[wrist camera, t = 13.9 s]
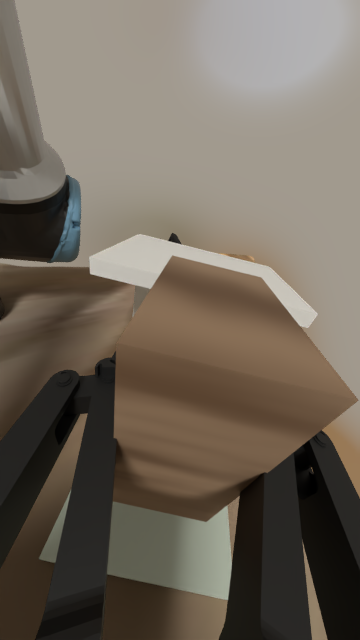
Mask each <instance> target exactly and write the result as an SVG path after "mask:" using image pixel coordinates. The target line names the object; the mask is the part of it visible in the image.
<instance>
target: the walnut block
mask: <svg viewBox="0 0 360 640" xmlns="http://www.w3.org/2000/svg"><path fill="white" fill-rule="evenodd" d="M357 401H358V399H357V398H356V396H355V395H354V394H353V393H352V391H351V390H350V389H349V388H348V386H347V385H346V384H345V383H344V381H343V380H342V379H341V377H340V376H339V375H338V374H337V372H336V371H335V370H334V369H333V367H332V366H331V365H330V364H329V362H328V361H327V360H326V358H325V357H324V356H323V355H322V353H321V352H320V351H319V350H318V348H317V347H316V346H315V345H314V343H313V342H312V341H311V340H310V338H309V337H308V336H307V334H306V333H305V332H304V331H303V329H302V328H301V327H300V326H299V324H298V323H297V322H296V321H295V319H294V318H293V317H292V316H291V314H290V313H289V312H288V310H287V309H286V308H285V307H284V305H283V304H282V303H281V302H280V300H279V299H278V298H277V297H276V295H275V294H274V293H273V292H272V290H271V289H270V288H269V286H268V285H267V284H266V283H265V281H264V280H263V279H262V278H261V277H258V276H254V275H250V274H245V273H241V272H237V271H233V270H229V269H225V268H221V267H217V266H213V265H209V264H205V263H201V262H197V261H193V260H189V259H185V258H181V257H177V256H173V255H172V257H171V258H170V260H169V261H168V263H167V264H166V266H165V267H164V269H163V271H162V272H161V274H160V275H159V277H158V278H157V280H156V282H155V283H154V285H153V286H152V288H151V289H150V291H149V292H148V294H147V296H146V297H145V299H144V300H143V302H142V303H141V305H140V306H139V308H138V310H137V311H136V313H135V314H134V316H133V317H132V319H131V320H130V322H129V324H128V325H127V327H126V328H125V330H124V331H123V333H122V335H121V336H120V338H119V339H118V341H117V342H116V370H115V406H114V438H116V439H117V446H116V465H115V478H114V491H113V502H118V503H122V504H127V505H131V506H136V507H140V508H145V509H149V510H154V511H159V512H163V513H168V514H172V515H177V516H181V517H186V518H190V519H195V520H199V521H204V522H207V521H208V520H210V519H211V518H212V517H213V516H215V515H216V514H217V513H218V512H220V511H221V510H222V509H223V508H225V507H226V506H227V505H228V504H230V503H231V502H232V501H233V500H235V499H236V498H237V497H238V496H240V492H241V491H242V490H243V489H245V488H246V487H247V486H248V485H249V484H251V483H252V482H253V481H254V480H256V479H257V478H258V477H259V476H260V475H262V474H263V473H264V472H266V473H268V472H270V471H271V470H272V469H273V468H275V467H276V466H277V465H278V464H280V463H281V462H282V461H283V460H285V459H286V458H287V457H288V456H290V455H291V454H292V453H293V452H295V451H296V450H297V449H298V448H300V447H301V446H302V445H303V444H305V443H306V442H307V441H308V440H310V439H311V438H312V437H313V436H315V435H316V434H317V433H318V432H320V431H321V430H322V429H323V428H324V427H326V426H327V425H328V424H330V423H331V422H332V421H333V420H334V419H336V418H337V417H338V416H340V415H341V414H342V413H343V412H344V411H346V410H347V409H348V408H349V407H351V406H352V405H353V404H355V403H356V402H357Z"/></svg>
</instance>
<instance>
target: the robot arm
mask: <svg viewBox="0 0 360 640" xmlns="http://www.w3.org/2000/svg"><path fill="white" fill-rule="evenodd" d="M80 219H81V193H80V185H79V182H78V181H77V180H76V179H74V178H72V177H70V176H69V175H66V173H65V168H64V165H63V162H62V160H61V158H60V157H59V155H58V154H57V153H56V151H55V150H54V149H53V148H52V147H51V146H50V145H49V144H48V143H47V142H46V141H44V139H43V133H42V129H41V124H40V119H39V114H38V110H37V105H36V100H35V96H34V91H33V86H32V81H31V77H30V73H29V67H28V63H27V58H26V53H25V49H24V44H23V39H22V35H21V30H20V25H19V20H18V16H17V11H16V6H15V1H14V0H0V258H3V259H16V260H28V261H40V262H47V263H52V262H71V261H73V260H75V259H76V258H77V256H78V253H79V246H80ZM3 313H4V307H3V304H2V301H1V298H0V318H1V316H2V315H3ZM115 370H116V351H115V353H114V355H113V356H112V358H105V359H103V360H100V361H99V362H98V363H97V364H96V366H95V375H90V376H79V374H78V373H77V372H76V371H73V370H63V371H60V372H58V373H56V374H54V375H53V376H52V377H51V378H50V379H49V381H48V382H47V383H46V385H45V386H44V387H43V388H42V390H41V391H40V392H39V393H38V395H37V396H36V397H35V398H34V400H33V401H32V402H31V403H30V405H29V406H28V407H27V409H26V410H25V411H24V412H23V414H22V415H21V416H20V417H19V419H18V420H17V421H16V422H15V424H14V425H13V426H12V427H11V429H10V430H9V431H8V433H7V434H6V435H5V436H4V438H3V439H2V440H1V441H0V568H1V566H2V565H3V563H4V561H5V559H6V557H7V555H8V553H9V551H10V549H11V547H12V545H13V543H14V541H15V539H16V537H17V536H18V534H19V532H20V530H21V528H22V526H23V524H24V522H25V520H26V518H27V516H28V514H29V512H30V510H31V508H32V507H33V505H34V503H35V501H36V499H37V497H38V495H39V493H40V491H41V489H42V487H43V485H44V483H45V481H46V479H47V478H48V476H49V474H50V472H51V470H52V468H53V466H54V464H55V462H56V460H57V458H58V456H59V454H60V452H61V450H62V449H63V447H64V445H65V443H66V441H67V439H68V437H69V435H70V433H71V431H72V429H73V427H74V425H75V423H76V421H77V420H78V418H79V416H80V414H84V413H88V415H87V419H86V424H85V429H84V433H83V438H82V442H81V447H80V452H79V456H78V461H77V465H76V470H75V474H74V479H73V484H72V488H71V493H70V497H69V502H68V507H67V511H66V516H65V520H64V525H63V529H62V534H61V539H60V543H59V548H58V552H57V557H56V562H55V566H54V571H53V575H52V580H51V584H50V589H49V594H48V598H47V603H46V607H45V611H44V615H43V618H42V622H41V625H40V628H39V630H38V633H37V636H36V639H35V640H102V636H103V623H104V609H105V595H106V582H107V569H108V556H109V543H110V530H111V517H112V504H113V491H114V478H115V465H116V446H117V439H116V438H114V406H115ZM311 467H312V469H313V471H312V469H311ZM313 472H314V473H313ZM302 540H303V544H304V548H305V552H306V556H307V560H308V564H309V568H310V571H311V575H312V579H313V583H314V587H315V591H316V595H317V599H318V603H319V607H320V611H321V615H322V619H323V623H324V627H325V631H326V635H327V639H328V640H360V498H359V496H358V494H357V492H356V490H355V488H354V486H353V484H352V482H351V480H350V477H349V476H348V473H347V471H346V469H345V467H344V465H343V463H342V461H341V459H340V457H339V455H338V453H337V451H336V449H335V447H334V445H333V443H332V441H331V440H330V438H329V437H328V436H327V435H326V434H325V433H324V432H323V431H322V430H321V431H320V432H318V433H317V434H316V435H315V436H313V437H312V438H311V439H310V440H308V441H307V442H306V443H305V444H303V445H302V446H301V447H300V448H298V449H297V450H296V451H295V452H293V453H292V454H291V455H290V456H288V457H287V458H286V459H285V460H283V461H282V462H281V463H280V464H278V465H277V466H276V467H275V468H273V469H272V470H271V471H270V472H268V473H266V472H264V473H263V474H262V475H260V476H259V477H258V478H257V479H256V480H254V481H253V482H252V483H251V484H249V485H248V486H247V487H246V488H245V489H243V490H242V491H241V492H240V499H239V507H238V516H237V525H236V534H235V542H234V551H233V560H232V569H231V578H230V586H229V595H228V604H227V613H226V619H225V624H224V627H223V630H222V632H221V634H220V637H219V640H312V636H311V626H310V615H309V605H308V595H307V585H306V575H305V564H304V554H303V544H302Z"/></svg>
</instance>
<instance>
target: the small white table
mask: <svg viewBox="0 0 360 640" xmlns="http://www.w3.org/2000/svg"><path fill="white" fill-rule="evenodd" d="M172 255H173V256H177V257H181V258H185V259H189V260H193V261H197V262H201V263H205V264H209V265H213V266H217V267H221V268H225V269H229V270H233V271H237V272H241V273H245V274H250V275H254V276H258V277H261V278H262V279H263V280H264V281H265V283H266V284H267V285H268V286H269V288H270V289H271V290H272V292H273V293H274V294H275V295H276V297H277V298H278V299H279V300H280V302H281V303H282V304H283V305H284V307H285V308H286V309H287V310H288V312H289V313H290V314H291V316H292V317H293V318H294V319H295V321H296V322H297V323H298V324H299V326H303V327H307V328H308V327H309V326H310V324H311V323H312V322H313V320H314V319H315V317H316V316H317V315H318V313H317V312H316V311H315V310H314V309H312V308H311V307H310V306H309V305H308V304H307V303H306V302H305V301H304V300H303V299H302V298H301V297H300V296H299V295H298V294H297V293H296V292H295V291H294V290H293V289H292V288H291V287H290V286H289V285H288V284H287V283H286V282H285V281H283V279H282V278H281V277H280V276H278V275H277V273H276V272H274V271H273V270H272V269H271V268H270V267H268V266H264V265H260V264H256V263H252V262H249V261H245V260H241V259H237V258H233V257H229V256H225V255H221V254H217V253H213V252H209V251H205V250H201V249H197V248H193V247H189V246H185V245H182V244H178V243H174V242H170V241H166V240H162V239H158V238H153V237H150V236H146V235H142V234H138V235H136V236H133V237H131V238H129V239H127V240H125V241H123V242H120V243H118V244H116V245H114V246H112V247H110V248H108V249H105V250H103V251H101V252H99V253H97V254H94V255H92V256H90V257H89V263H90V274H92V275H96V276H100V277H105V278H109V279H113V280H117V281H121V282H125V283H129V284H133V285H135V295H134V307H133V316H134V314H135V313H136V311H137V310H138V308H139V306H140V305H141V303H142V302H143V300H144V299H145V297H146V296H147V294H148V292H149V290H150V289H151V288H152V286H153V285H154V283H155V282H156V280H157V278H158V277H159V275H160V274H161V272H162V271H163V269H164V267H165V266H166V264H167V263H168V261H169V260H170V258H171V257H172Z"/></svg>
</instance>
